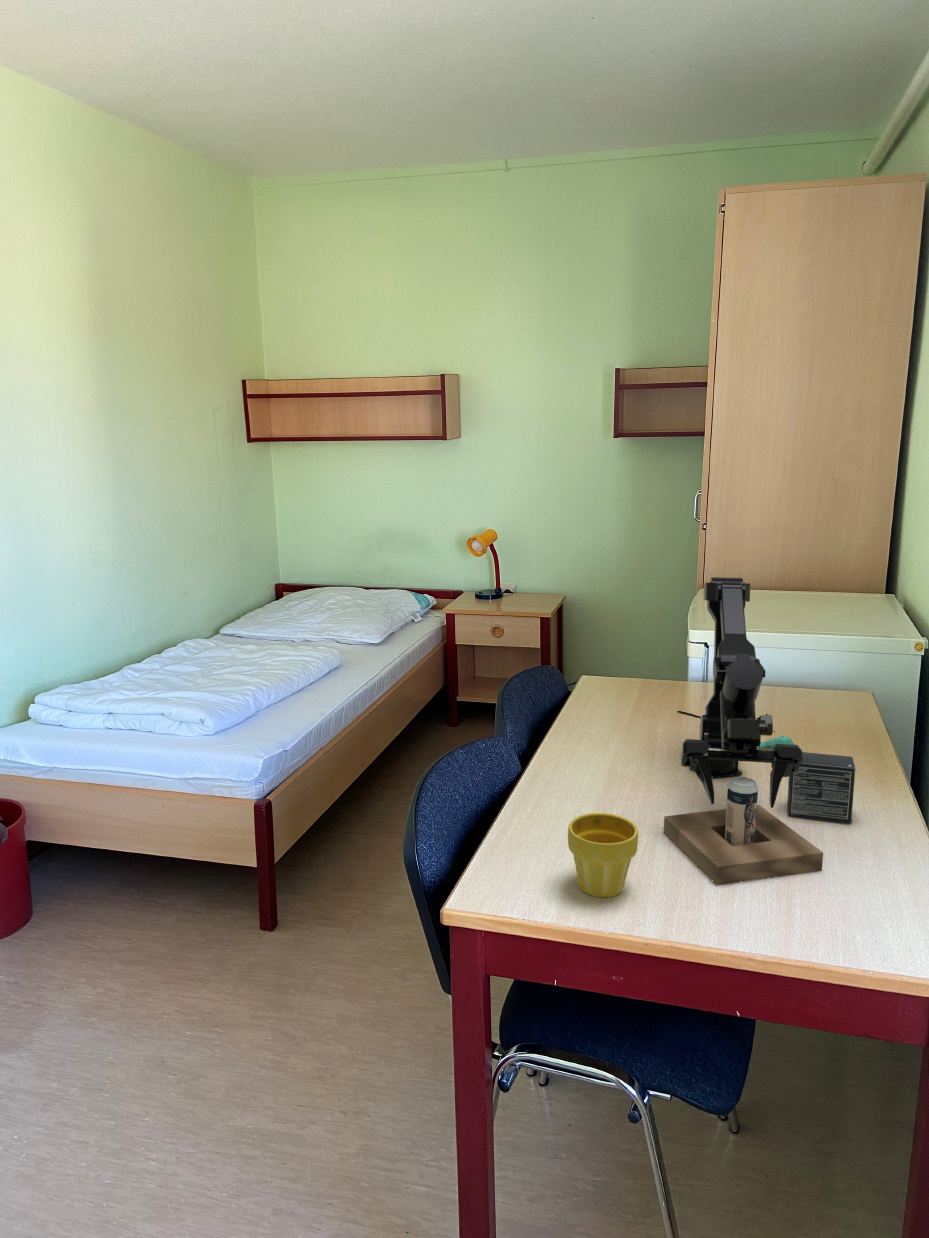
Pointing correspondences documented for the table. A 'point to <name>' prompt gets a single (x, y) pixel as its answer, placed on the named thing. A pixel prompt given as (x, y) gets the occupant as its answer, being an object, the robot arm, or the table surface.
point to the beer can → (741, 811)
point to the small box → (822, 788)
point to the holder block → (742, 847)
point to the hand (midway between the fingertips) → (742, 804)
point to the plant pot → (602, 851)
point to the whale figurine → (771, 743)
